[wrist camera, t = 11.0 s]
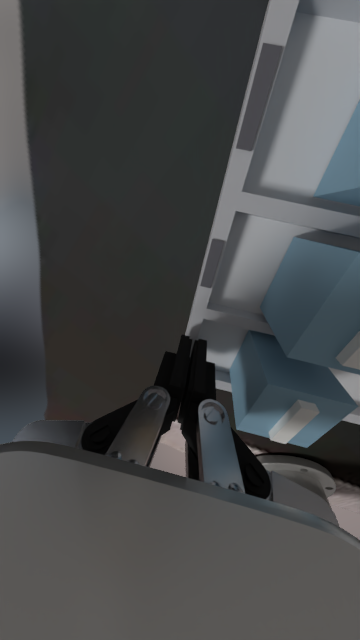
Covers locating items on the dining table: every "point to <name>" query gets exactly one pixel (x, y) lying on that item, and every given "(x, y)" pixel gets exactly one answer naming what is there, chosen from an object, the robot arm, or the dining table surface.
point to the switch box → (280, 173)
